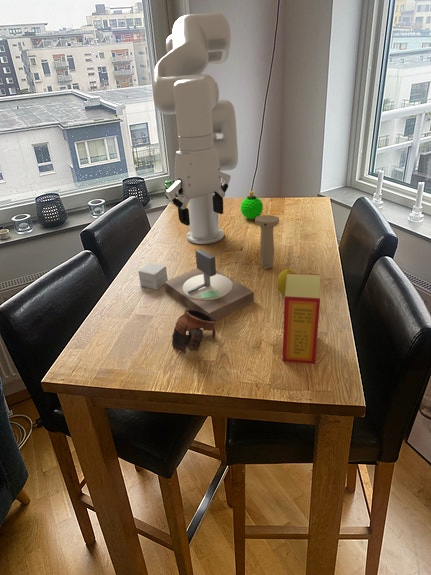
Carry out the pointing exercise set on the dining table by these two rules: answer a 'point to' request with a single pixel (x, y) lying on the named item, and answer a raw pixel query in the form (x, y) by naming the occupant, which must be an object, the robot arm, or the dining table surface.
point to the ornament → (251, 206)
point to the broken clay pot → (191, 330)
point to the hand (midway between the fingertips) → (202, 218)
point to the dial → (214, 291)
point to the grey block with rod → (205, 267)
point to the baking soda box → (301, 317)
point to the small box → (153, 276)
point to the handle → (267, 239)
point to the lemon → (283, 280)
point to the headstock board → (214, 307)
